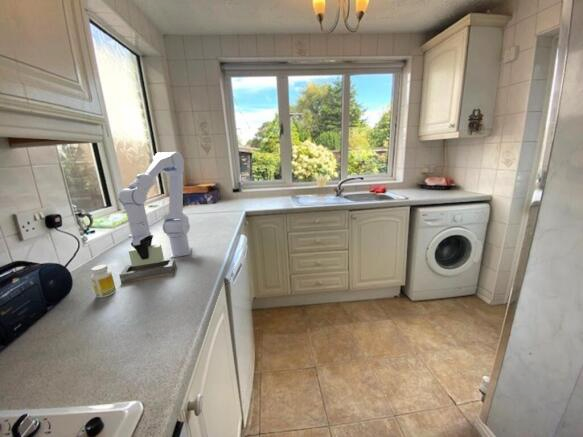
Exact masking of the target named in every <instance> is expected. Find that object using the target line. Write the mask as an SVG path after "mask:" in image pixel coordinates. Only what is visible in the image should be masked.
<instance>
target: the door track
mask: <svg viewBox="0 0 583 437" xmlns="http://www.w3.org/2000/svg"><path fill="white" fill-rule="evenodd" d="M176 267H177V263H176V257H173V258H171V257H170V258H166V259H165V258H164V260H163V262H158V263H152V264H146V265H140V266H133V267H132V264H128V265H125V266H124V268H123V270H122V271H121V272H120V273H119V279H120V283H121V284H126V283H131V282H137V281H142V280H148V279H154V278H158V277H159V278H160V277H165V276H171V275H174V274H175V270H176Z"/></svg>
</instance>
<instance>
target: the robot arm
mask: <svg viewBox="0 0 583 437" xmlns="http://www.w3.org/2000/svg"><path fill="white" fill-rule="evenodd" d="M184 161H185V159H184V158H183V156H182V154H181V153H180V152H179V151H171V152H157V153H155V155H154V156H153V157H152V162H151V163H150V165H149V166H148V167H147V169H146V171H145V172H144V173H139V174H137V175H135V177H136V178H135V179H133V181H132V182H131V183H130V184H129V185H128V186H127V188H123V189H122V190H121V191H120V192H119V194H118V201H119V203H120V204H121V205H122V206H123V209H124V210H125V213H126V216H127V221H128V225H129V228H130V229H129V230H130V233H131V234H128V236H127V238H129V239H130V238H131V239H132V240H131V243H130V245H131V246H132V248H135V249H136V251H137V252H138V254H139V255H140V257H141V259H142V260H144V259H148V258H149V251H148V247H149V246H151V245H152V242H153V239H154V235H153V234H152V232H151V230H150V227H149V221H148V216H147V211H146V208H145V203H146V202H147V195H148V192H149V191H150V189H152V187H153V186H155V181H154V179H155V178H156V177H157V176H158V175H159V174H160V173H161V172H163V173H164V174H166V175H167V176H168V177H169V196H168V198H169V200H168V202H169V204H168V205H169V206H168V211H169V212H168V213H167V214H166V215H165V216H164V217H163V223H162V231H163V233H164V234H166V236H167V237H168V238H169V244H170V248H171V249H170V250H171V254H170V257H169V258H170V259H171V258H176V257H184V256H189V255H191V252H192V248H193V247H192V246H190V243H189V238H188V233H189V232H190V229H191V226H190V222H189V216H187V215H186V214H185V213H184V212H183V209H184V208H183V207H184V206H183V204H184V203H183V202H184V201H183V200H184V198H183V196H184V195H183V194H184V192H183V191H184V172H185V168H184V167H185V162H184Z"/></svg>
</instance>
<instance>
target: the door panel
mask: <svg viewBox="0 0 583 437" xmlns="http://www.w3.org/2000/svg"><path fill="white" fill-rule="evenodd" d="M148 251H149V258H148V259H144V260H142V259H141V257H140V255H139V254H138V252H137V251H136V249H135V248H134V247H131V248H130V249H129V250H128V254H129V258H130V263H131V265H132V267H133V266H140V265H146V264H152V263H158V262H163V260H164V259H165V256H164V252H163V248H162V244H161V243H158V244H151V246H149V247H148Z"/></svg>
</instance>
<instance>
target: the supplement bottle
mask: <svg viewBox="0 0 583 437" xmlns="http://www.w3.org/2000/svg"><path fill="white" fill-rule="evenodd" d="M91 273H92V274H91V276H90V280H91V283H92V287H93V290H94V293H95V296H96V297H97V298H99V299H101V298H103V299H104V298H107V297H108V296H111V295H113V294H115V293H116V290H117V289H116V284H115V282H114V277H113V274H112V271H111V270H109V269H108V266H107V264H99V265H96V266H94V267H92V268H91Z"/></svg>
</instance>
